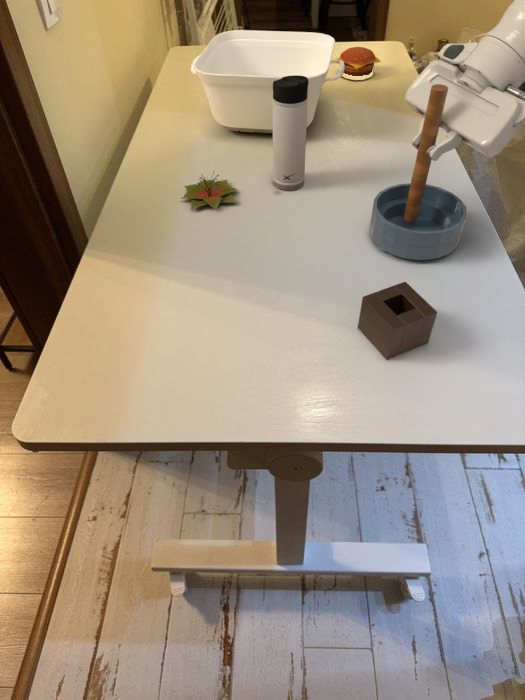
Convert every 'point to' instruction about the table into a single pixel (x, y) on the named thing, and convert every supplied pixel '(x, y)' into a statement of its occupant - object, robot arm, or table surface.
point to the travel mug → (289, 131)
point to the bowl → (417, 223)
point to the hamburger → (358, 61)
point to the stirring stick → (426, 140)
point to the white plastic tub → (261, 73)
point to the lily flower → (209, 193)
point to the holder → (396, 319)
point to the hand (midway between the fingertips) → (422, 152)
